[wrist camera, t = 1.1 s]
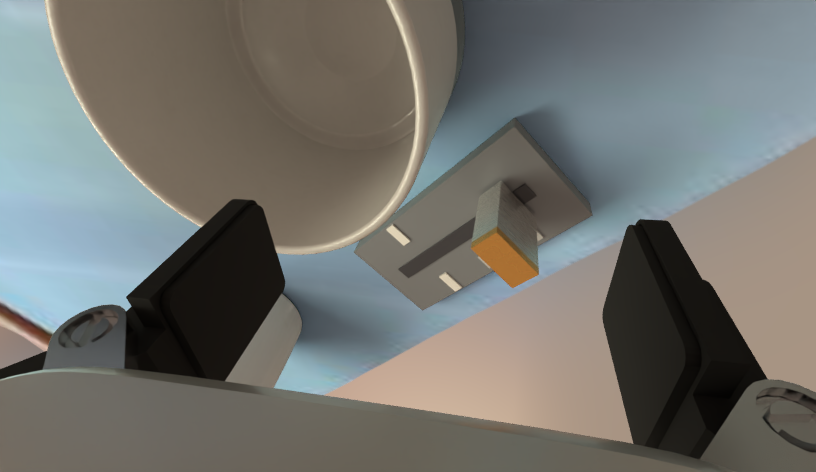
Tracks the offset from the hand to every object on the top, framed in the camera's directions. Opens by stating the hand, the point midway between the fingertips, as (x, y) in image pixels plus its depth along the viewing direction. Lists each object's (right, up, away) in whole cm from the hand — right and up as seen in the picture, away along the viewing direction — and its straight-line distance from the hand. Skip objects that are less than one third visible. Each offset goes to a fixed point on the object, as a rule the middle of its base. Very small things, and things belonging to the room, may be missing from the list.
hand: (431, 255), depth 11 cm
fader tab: (+9, +3, +27) cm, 28 cm away
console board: (+5, +2, +32) cm, 32 cm away
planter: (-5, +18, +23) cm, 30 cm away
